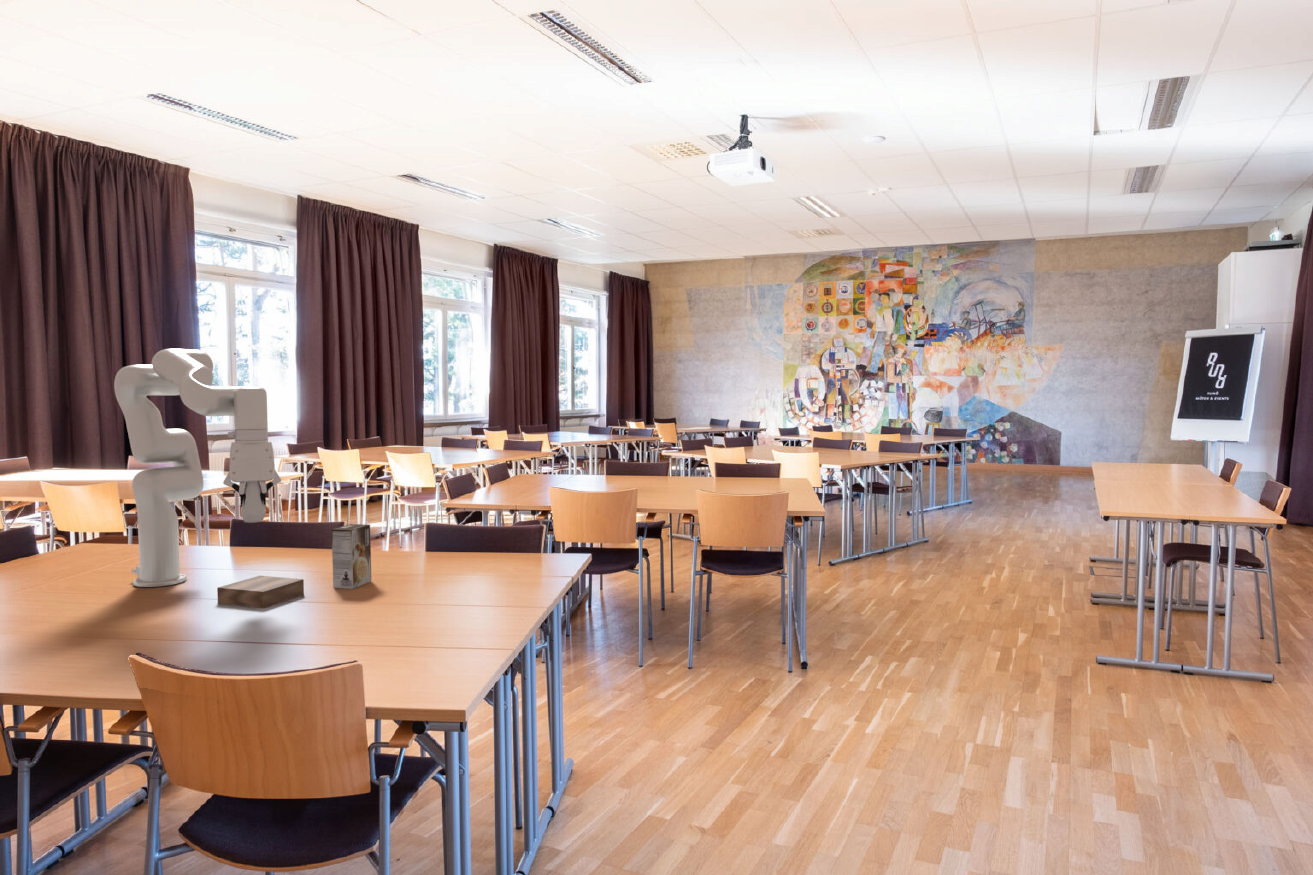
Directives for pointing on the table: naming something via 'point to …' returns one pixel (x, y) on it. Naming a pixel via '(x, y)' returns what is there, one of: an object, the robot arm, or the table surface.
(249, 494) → the salt shaker
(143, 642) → the table surface
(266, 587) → the walnut base
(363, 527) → the coffee box
